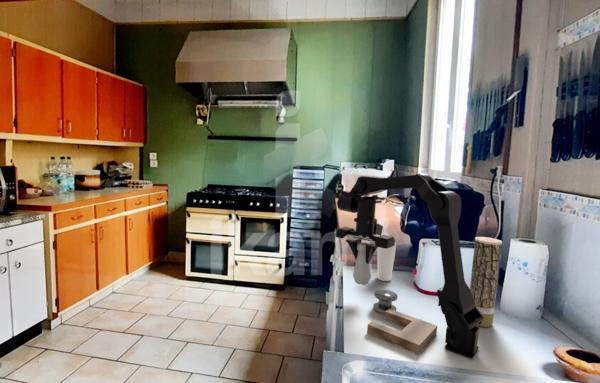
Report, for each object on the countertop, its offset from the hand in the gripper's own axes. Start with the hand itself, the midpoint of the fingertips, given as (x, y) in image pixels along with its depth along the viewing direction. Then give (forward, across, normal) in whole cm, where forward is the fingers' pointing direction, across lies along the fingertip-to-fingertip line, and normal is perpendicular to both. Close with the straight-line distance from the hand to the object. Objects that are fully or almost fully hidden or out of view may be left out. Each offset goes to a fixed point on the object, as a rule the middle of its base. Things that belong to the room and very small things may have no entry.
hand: (362, 262), depth 108 cm
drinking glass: (+13, +4, -24) cm, 28 cm away
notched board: (+13, -19, +9) cm, 25 cm away
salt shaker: (+7, 0, 0) cm, 7 cm away
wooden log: (+13, -32, -14) cm, 38 cm away
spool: (+13, -9, 0) cm, 16 cm away
